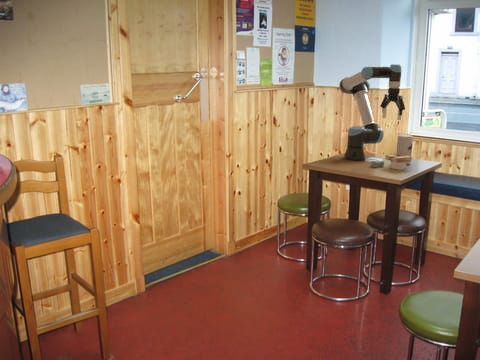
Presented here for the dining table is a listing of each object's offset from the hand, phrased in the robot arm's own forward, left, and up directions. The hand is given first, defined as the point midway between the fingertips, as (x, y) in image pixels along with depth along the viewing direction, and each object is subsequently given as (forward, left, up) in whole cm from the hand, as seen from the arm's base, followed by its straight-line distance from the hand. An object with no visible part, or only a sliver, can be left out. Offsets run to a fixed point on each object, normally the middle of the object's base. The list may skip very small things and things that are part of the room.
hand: (391, 119), depth 352 cm
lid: (+13, -4, -26) cm, 29 cm away
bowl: (+13, -4, -32) cm, 34 cm away
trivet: (+3, -13, -32) cm, 34 cm away
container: (+4, +11, -32) cm, 34 cm away
